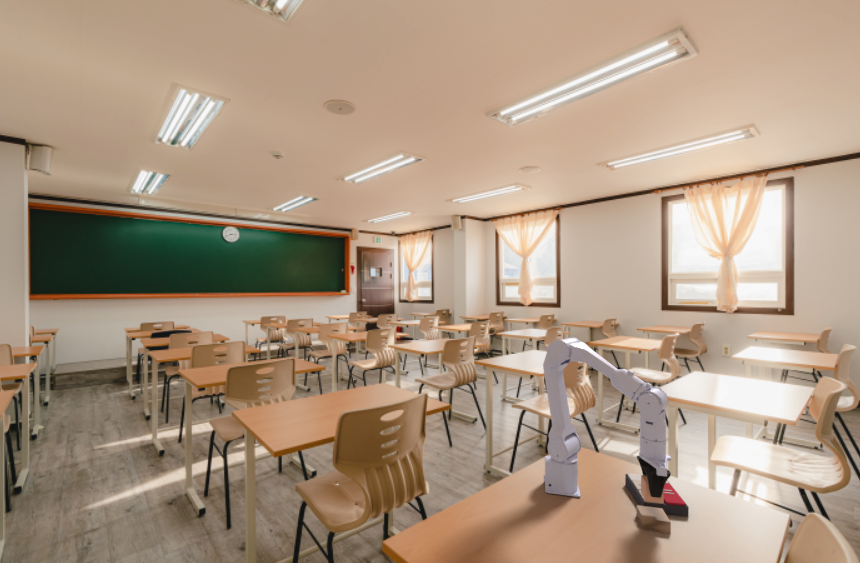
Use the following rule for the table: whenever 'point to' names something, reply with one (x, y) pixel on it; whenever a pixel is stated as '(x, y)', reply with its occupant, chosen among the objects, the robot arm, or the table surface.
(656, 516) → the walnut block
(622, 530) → the table surface
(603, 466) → the table surface
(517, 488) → the table surface
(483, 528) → the table surface
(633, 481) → the calculator
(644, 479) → the terracotta block
